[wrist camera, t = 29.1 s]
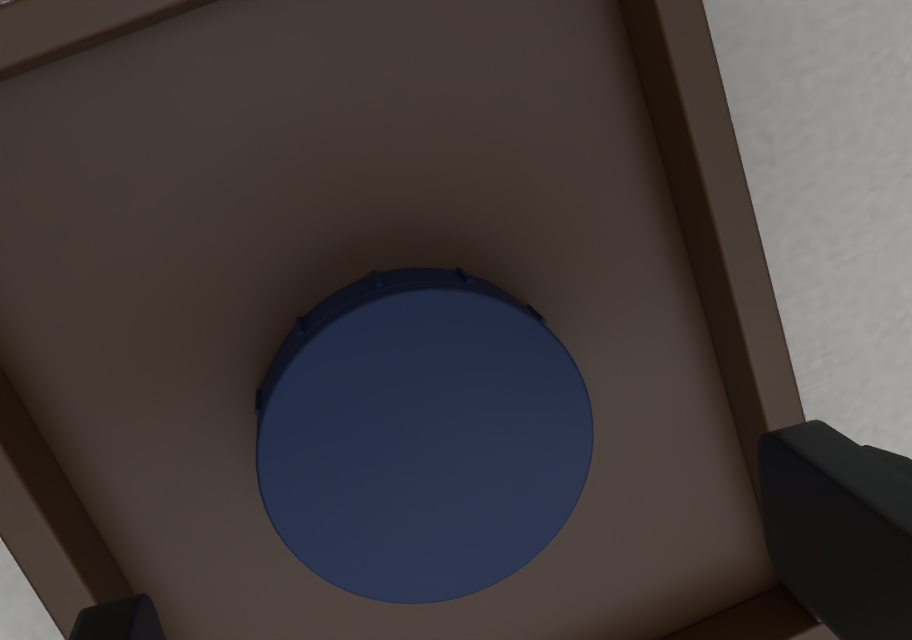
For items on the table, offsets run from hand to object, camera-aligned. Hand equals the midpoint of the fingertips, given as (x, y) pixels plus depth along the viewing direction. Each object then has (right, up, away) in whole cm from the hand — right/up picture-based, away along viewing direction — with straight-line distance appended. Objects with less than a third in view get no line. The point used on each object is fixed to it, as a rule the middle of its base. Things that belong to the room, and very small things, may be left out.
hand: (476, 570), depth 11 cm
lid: (-1, +1, +4) cm, 4 cm away
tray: (-1, +2, +6) cm, 6 cm away
